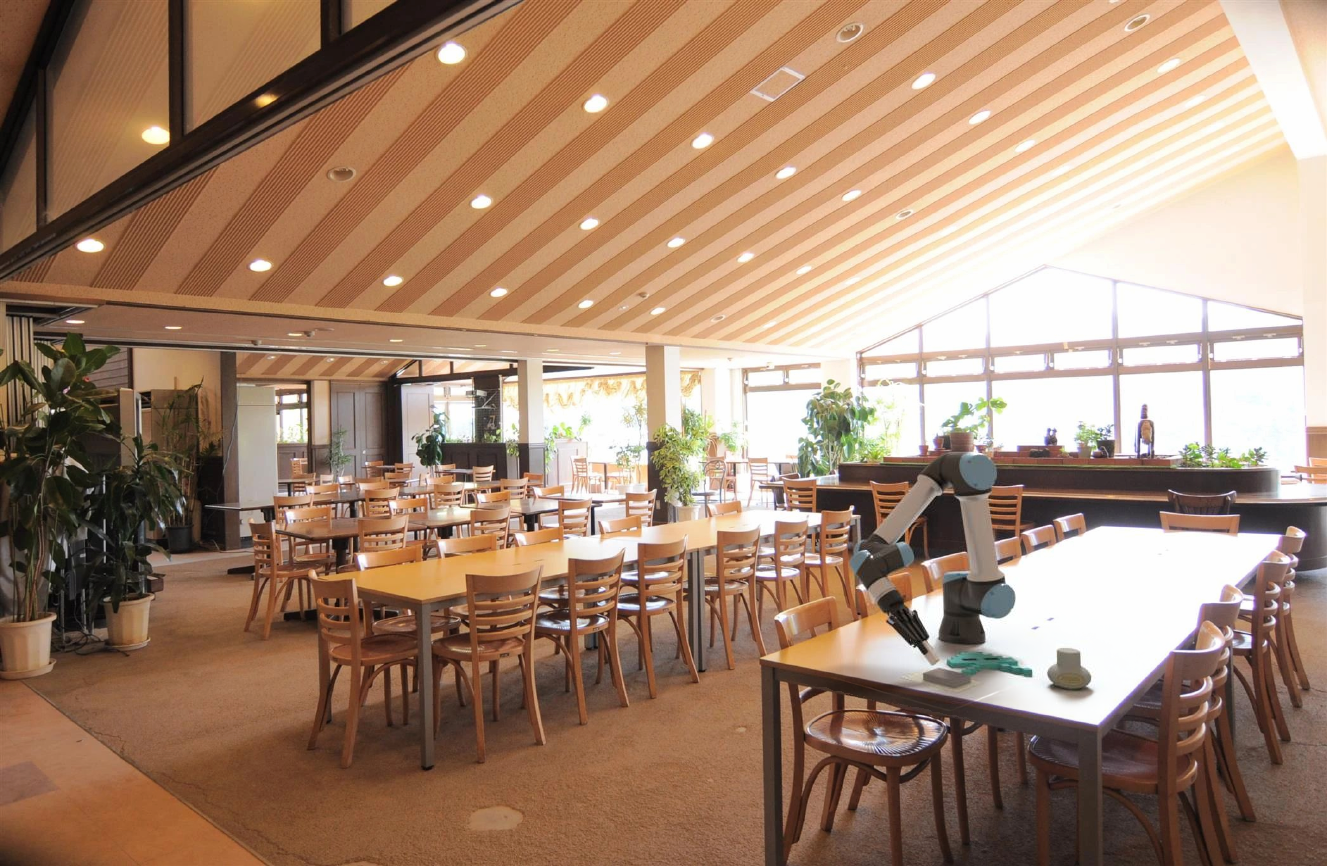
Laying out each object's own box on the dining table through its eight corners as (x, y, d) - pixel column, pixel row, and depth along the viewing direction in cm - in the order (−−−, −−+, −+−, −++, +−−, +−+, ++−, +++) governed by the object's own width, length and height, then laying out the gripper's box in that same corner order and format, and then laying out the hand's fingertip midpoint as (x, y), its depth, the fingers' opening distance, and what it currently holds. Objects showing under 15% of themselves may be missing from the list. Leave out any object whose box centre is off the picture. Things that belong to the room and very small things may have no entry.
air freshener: (1048, 688, 225) (1048, 652, 225) (1046, 680, 233) (1045, 645, 233) (1093, 692, 221) (1092, 655, 221) (1089, 683, 229) (1088, 648, 229)
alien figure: (1032, 677, 237) (1001, 658, 257) (1032, 669, 237) (1001, 651, 257) (964, 679, 237) (938, 660, 257) (964, 671, 237) (938, 653, 257)
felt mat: (901, 678, 237) (901, 677, 237) (927, 670, 245) (927, 668, 245) (956, 693, 223) (956, 692, 223) (983, 684, 231) (983, 682, 231)
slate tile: (922, 673, 234) (954, 680, 226) (939, 667, 239) (970, 675, 231) (923, 680, 234) (954, 688, 226) (939, 674, 239) (970, 682, 231)
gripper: (892, 600, 254) (941, 665, 241) (865, 606, 246) (914, 674, 233) (906, 585, 250) (957, 651, 237) (880, 591, 242) (930, 659, 229)
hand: (935, 662), depth 235 cm, fingers closed
